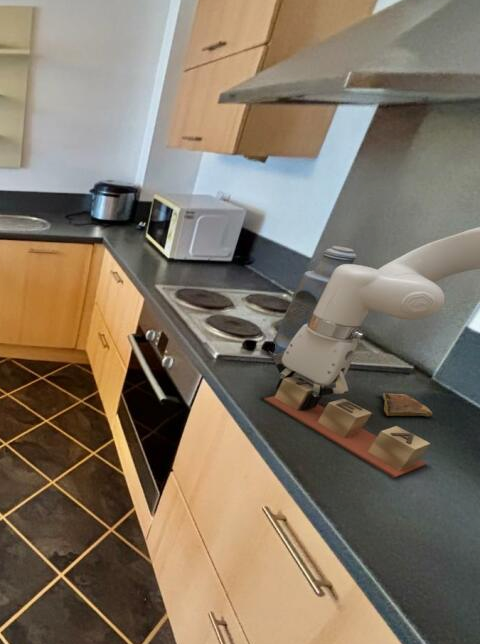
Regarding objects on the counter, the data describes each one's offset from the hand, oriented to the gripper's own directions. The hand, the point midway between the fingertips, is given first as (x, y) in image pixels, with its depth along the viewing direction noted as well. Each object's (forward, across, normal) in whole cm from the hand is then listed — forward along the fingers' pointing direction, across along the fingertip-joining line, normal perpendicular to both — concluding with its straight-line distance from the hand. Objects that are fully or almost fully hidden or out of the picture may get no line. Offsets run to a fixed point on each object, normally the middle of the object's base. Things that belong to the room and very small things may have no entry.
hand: (293, 400), depth 91 cm
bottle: (+1, +15, -22) cm, 27 cm away
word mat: (+1, -9, 0) cm, 9 cm away
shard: (+1, -10, -23) cm, 25 cm away
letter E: (0, -9, 0) cm, 9 cm away
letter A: (0, -18, 0) cm, 18 cm away
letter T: (0, 0, 0) cm, 0 cm away
